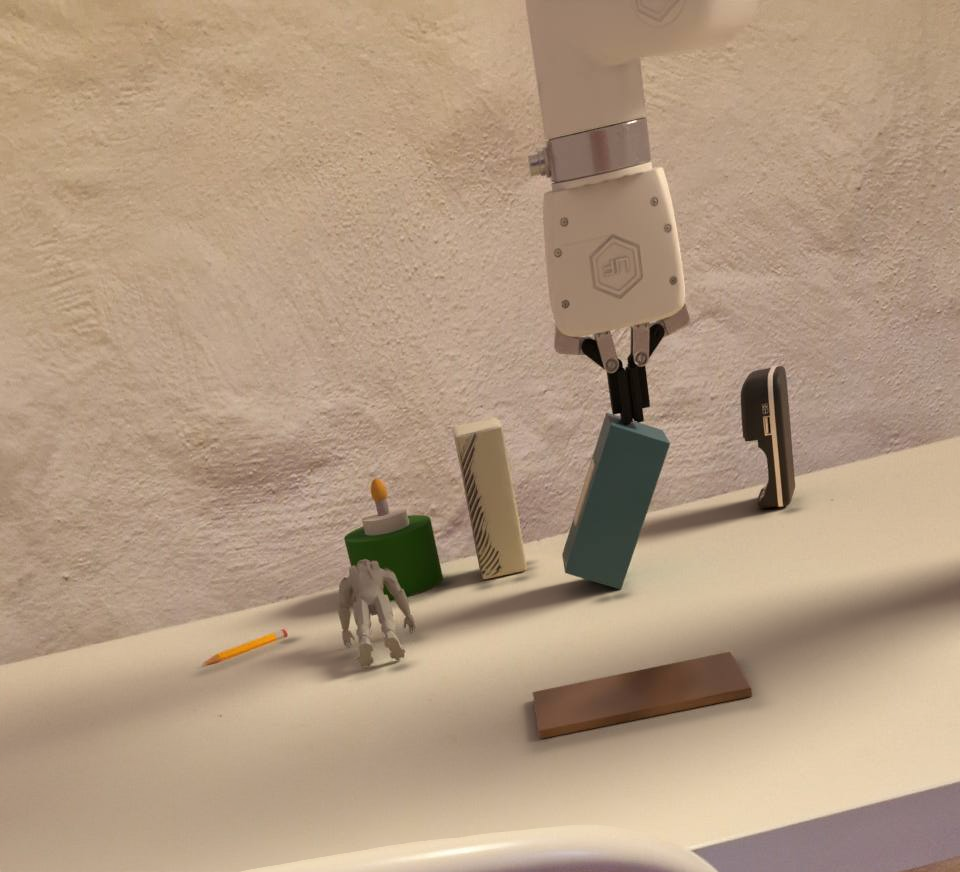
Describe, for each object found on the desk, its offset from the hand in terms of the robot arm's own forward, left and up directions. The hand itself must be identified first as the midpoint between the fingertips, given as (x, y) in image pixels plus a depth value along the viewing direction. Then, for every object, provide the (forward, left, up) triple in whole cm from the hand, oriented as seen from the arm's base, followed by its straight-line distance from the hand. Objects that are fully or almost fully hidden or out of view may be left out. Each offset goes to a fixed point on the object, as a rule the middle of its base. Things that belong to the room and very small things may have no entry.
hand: (632, 420), depth 113 cm
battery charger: (-13, -16, -13) cm, 24 cm away
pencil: (+37, -3, -13) cm, 39 cm away
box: (+13, -12, -13) cm, 21 cm away
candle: (+23, -14, -13) cm, 29 cm away
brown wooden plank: (+5, +30, -12) cm, 33 cm away
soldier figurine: (+24, +5, -13) cm, 27 cm away
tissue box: (0, 0, -7) cm, 7 cm away
